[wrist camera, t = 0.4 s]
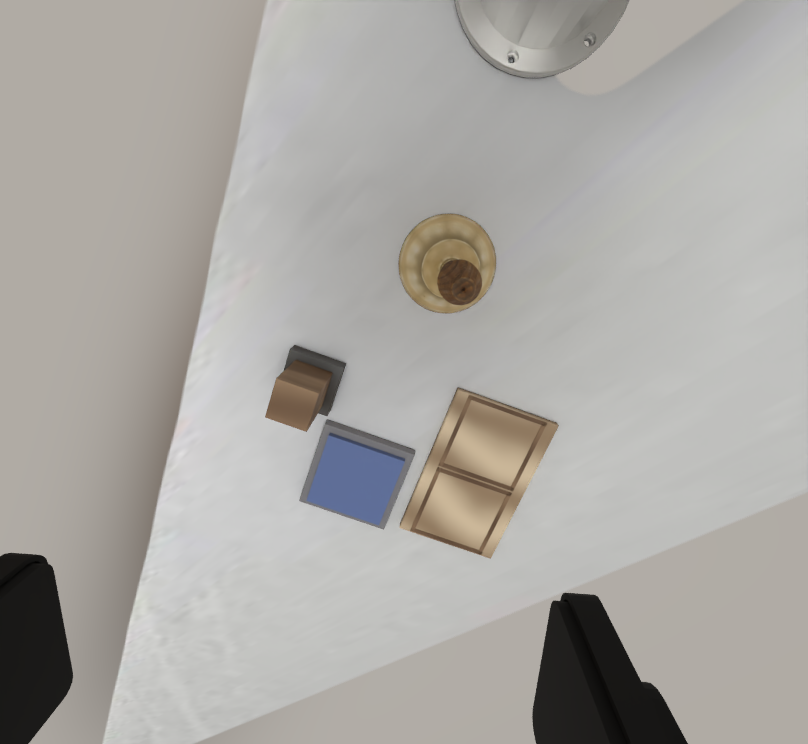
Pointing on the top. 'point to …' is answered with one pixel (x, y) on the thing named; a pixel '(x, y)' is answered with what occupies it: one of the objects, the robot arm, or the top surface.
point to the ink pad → (356, 474)
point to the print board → (477, 473)
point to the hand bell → (447, 263)
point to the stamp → (304, 388)
